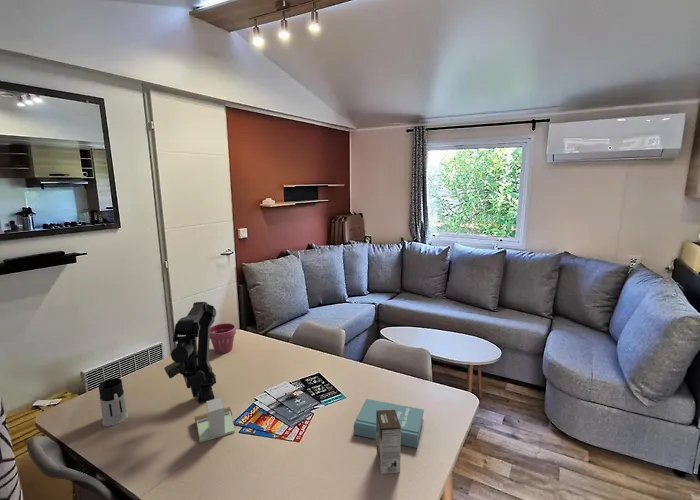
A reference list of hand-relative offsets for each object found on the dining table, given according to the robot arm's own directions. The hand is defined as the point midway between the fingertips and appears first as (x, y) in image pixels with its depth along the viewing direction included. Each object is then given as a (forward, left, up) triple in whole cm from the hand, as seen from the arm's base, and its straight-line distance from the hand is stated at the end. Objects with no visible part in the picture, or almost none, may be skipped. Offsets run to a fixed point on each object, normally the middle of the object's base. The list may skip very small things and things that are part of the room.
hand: (191, 392), depth 139 cm
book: (+39, +64, -13) cm, 76 cm away
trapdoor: (+10, +6, -11) cm, 16 cm away
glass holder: (-14, -27, -12) cm, 32 cm away
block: (+12, +6, -11) cm, 17 cm away
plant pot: (-58, +19, -12) cm, 62 cm away
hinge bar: (+3, +6, -12) cm, 14 cm away
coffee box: (+53, +53, -12) cm, 76 cm away
